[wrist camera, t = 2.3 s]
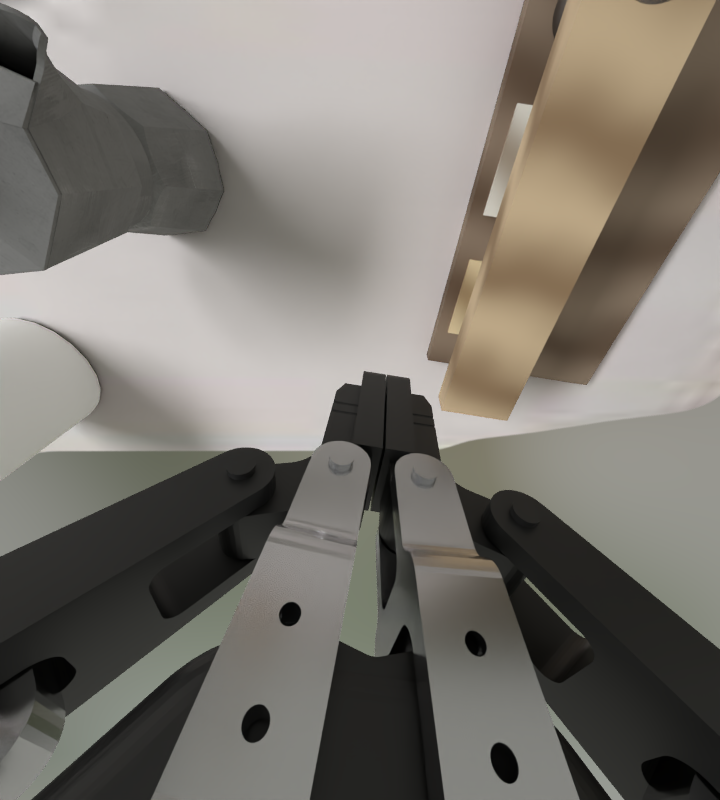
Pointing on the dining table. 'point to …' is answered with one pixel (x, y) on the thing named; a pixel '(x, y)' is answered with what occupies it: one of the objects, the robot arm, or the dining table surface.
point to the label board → (630, 217)
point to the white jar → (39, 390)
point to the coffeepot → (90, 158)
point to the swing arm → (565, 185)
